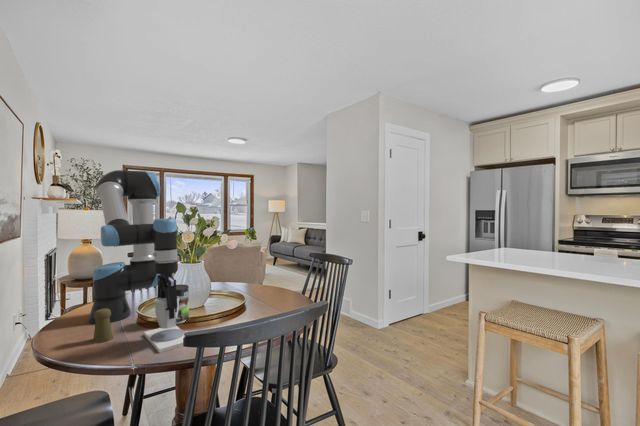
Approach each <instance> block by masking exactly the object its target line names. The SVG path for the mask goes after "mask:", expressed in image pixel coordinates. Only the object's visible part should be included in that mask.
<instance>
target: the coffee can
mask: <svg viewBox="0 0 640 426" xmlns="http://www.w3.org/2000/svg"><path fill="white" fill-rule="evenodd" d="M176 294H177V296H179V311H178V317H177V321H176V325H179V324H184V323H185V321H186V319H187V318H188V317H189V318H190V303H189V301H190V300H189V297H190V295H189V285H188V284H176ZM186 322H187V321H186Z"/></svg>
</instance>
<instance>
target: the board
mask: <svg viewBox="0 0 640 426" xmlns="http://www.w3.org/2000/svg"><path fill="white" fill-rule="evenodd" d="M184 333H186V332H185V331H184V329H181V327H179V326H177V325H176V327H172V328H168V329H167V328H166V329H162V328H160V327H158V328H155V329H150V330H147V331H143V334H144V337H145V338H146V340H148V341H149V342H150V344H151V345H152V346H153V347H154V348H155V350H156V351H157V352H158V353H164V352H167V351H171V350H174V349H177V348H181V347H184V346H183V338H184Z"/></svg>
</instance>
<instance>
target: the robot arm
mask: <svg viewBox="0 0 640 426" xmlns="http://www.w3.org/2000/svg"><path fill="white" fill-rule="evenodd" d="M95 192H96V195H97V197H98V198H99V199H100V201H101V202H100V203H101V208H102V213H103V218H104V224H105V225H102V226H101V227H100V242H101V246H102V247H114V248H115V247H124V246H132V248H133V256H132V257H131V258H130V260H129V264H126V263H125V262H124V261H119V262H118V261H117V262H112V263H106V264H102V265H100V266H97V267H95V268H94V270H93V272H92V273H93V274H92V282H93V287H92V288H93V303H92V307H91V309H90V312H89V315H88V321H89V323H92V324H95V323H96V319H95V318H94V313H95V311H97V310H99V309H110V311H111V316H110V317H109V318H110V323H113V322H117V321H118V322H119V321H121V320H123V319H127V318H128V317H129V316H130V315H131V307H130V305H129V303H128V301H127V298H126V292H129V291H136V290H142V289H150V288H156V287H157V298H159V297H160V298H166V301H167V308H166V309H165V310H166V315H167V329H168V328H172V327H176V326H177V324H176V323H175V308H177V294H176V285H177V279H175V277H174V276H173V273H176V272H178V269H179V268H178V267H179V266H178V261H177V260H178V234H177V233H178V232H177V231H178V226H177V225H178V224H177V220H176V219H175V218H156V219H154V204H155V202H156V201H157V198H159V197H160V196H161V184H160V180H159V177H158V174H156V173H155V172H152V171H151V172H150V171H144V170H140V171H139V170H123V169H120V170H118V169H116V170H112V171H109V172H107V173H105V174H104V175H103V176H102V177H101V178H100V179H99V180H98V181H97V183H96V187H95ZM124 197H127V201H128V202H129V203H130V204H131V211H132V212H131V215H132V216H131V218H132V219H131V220H132V224H130V220H129V216H128V213H127V208H126V206H125V202H124Z"/></svg>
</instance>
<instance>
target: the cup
mask: <svg viewBox="0 0 640 426" xmlns="http://www.w3.org/2000/svg"><path fill="white" fill-rule="evenodd" d="M153 303H154V311H155V316H156V320H157V323H158V326H159V328H162V329H166V328H167V315H166V310H165V309H166V308H167V301H166V298H160V297H159V298H158V297H157V298H155V299H154V302H153ZM178 311H179V296H177V308H175V323H176V321H177V317H178Z"/></svg>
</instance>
